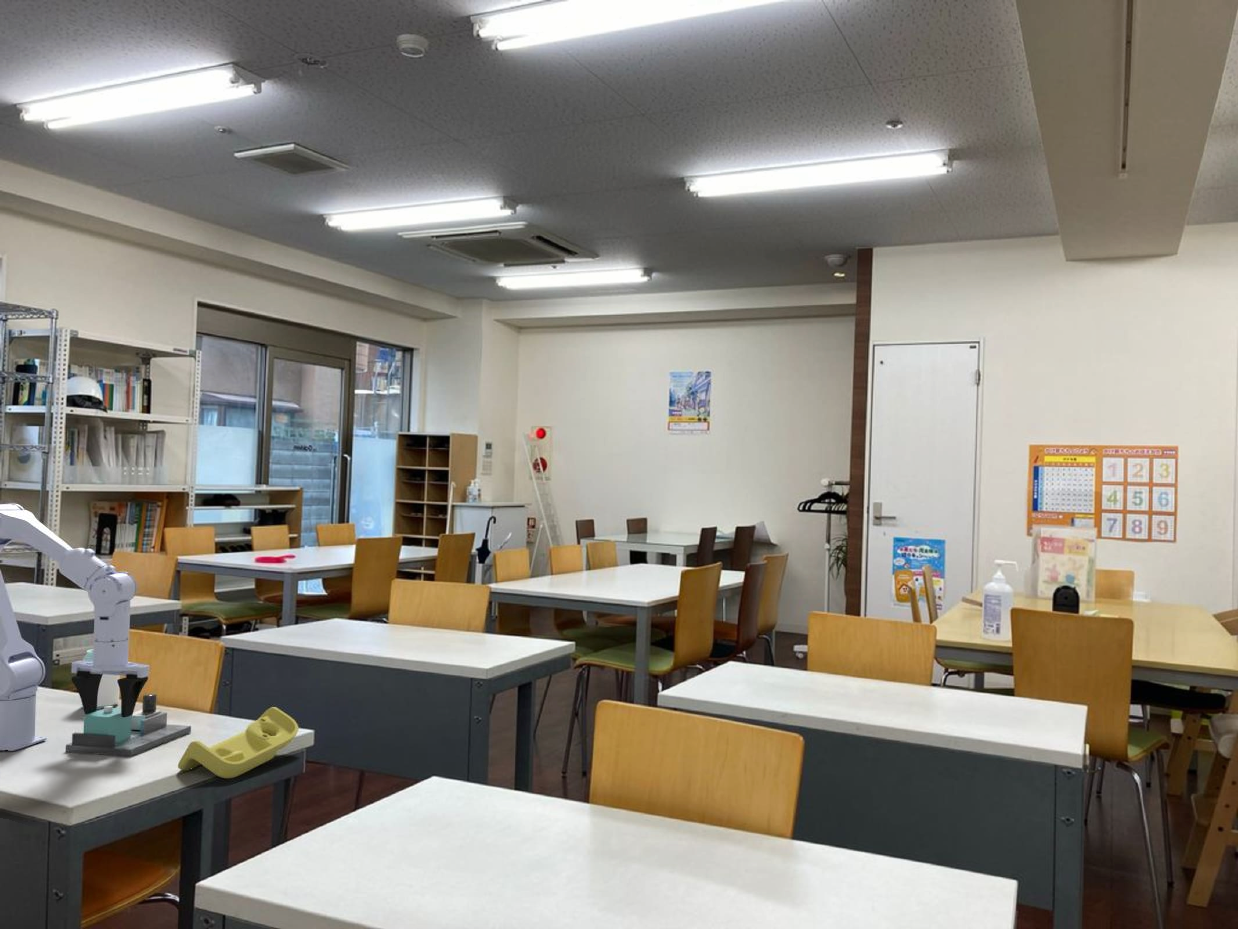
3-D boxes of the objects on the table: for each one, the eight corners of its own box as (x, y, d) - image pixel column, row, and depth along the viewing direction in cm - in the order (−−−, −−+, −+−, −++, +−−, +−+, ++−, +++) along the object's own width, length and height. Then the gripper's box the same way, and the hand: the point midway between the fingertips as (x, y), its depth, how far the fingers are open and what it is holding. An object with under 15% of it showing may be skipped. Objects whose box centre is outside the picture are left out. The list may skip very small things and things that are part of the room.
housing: (83, 743, 170) (84, 709, 170) (106, 735, 176) (107, 702, 176) (107, 745, 169) (109, 711, 169) (131, 736, 175) (131, 704, 175)
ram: (125, 728, 180) (126, 699, 180) (143, 722, 185) (144, 693, 185) (144, 730, 179) (145, 700, 179) (162, 723, 184) (163, 694, 184)
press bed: (65, 751, 169) (66, 731, 169) (130, 728, 186) (131, 709, 186) (130, 756, 167) (131, 736, 167) (190, 732, 184) (191, 713, 184)
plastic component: (232, 767, 154) (187, 735, 157) (217, 805, 156) (172, 772, 158) (309, 729, 173) (268, 701, 176) (295, 763, 174) (254, 735, 177)
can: (85, 711, 199) (87, 653, 199) (78, 705, 204) (80, 649, 204) (122, 706, 203) (124, 650, 203) (114, 700, 208) (116, 646, 209)
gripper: (59, 641, 171) (57, 717, 170) (131, 645, 168) (129, 722, 168) (88, 635, 177) (85, 708, 177) (158, 639, 175) (155, 713, 175)
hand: (108, 714), depth 173 cm, fingers open, 7 cm apart
